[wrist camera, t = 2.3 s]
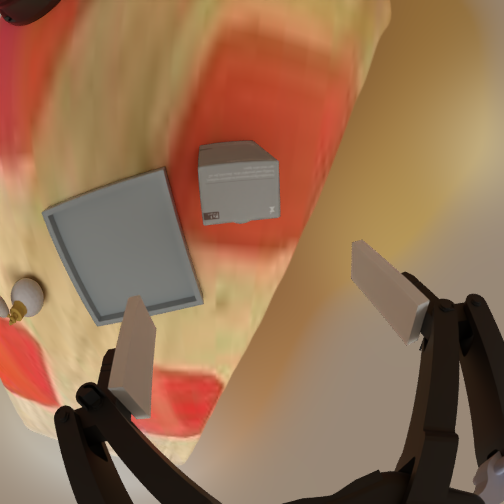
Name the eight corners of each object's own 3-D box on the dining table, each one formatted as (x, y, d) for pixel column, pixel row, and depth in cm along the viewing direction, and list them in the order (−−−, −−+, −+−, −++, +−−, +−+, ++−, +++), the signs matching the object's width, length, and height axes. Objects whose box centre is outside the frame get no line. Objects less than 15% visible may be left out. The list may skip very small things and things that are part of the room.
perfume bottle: (48, 307, 45) (27, 347, 34) (12, 291, 41) (-12, 326, 31) (49, 279, 42) (24, 318, 32) (12, 262, 39) (-17, 296, 28)
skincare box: (252, 139, 39) (284, 152, 26) (254, 184, 43) (285, 220, 29) (195, 144, 38) (195, 159, 24) (200, 190, 42) (203, 229, 28)
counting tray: (47, 207, 37) (41, 212, 34) (165, 166, 39) (163, 169, 36) (99, 318, 48) (97, 326, 46) (203, 295, 50) (203, 303, 48)
